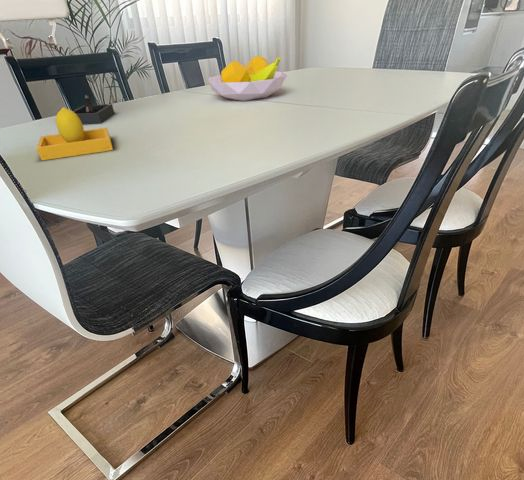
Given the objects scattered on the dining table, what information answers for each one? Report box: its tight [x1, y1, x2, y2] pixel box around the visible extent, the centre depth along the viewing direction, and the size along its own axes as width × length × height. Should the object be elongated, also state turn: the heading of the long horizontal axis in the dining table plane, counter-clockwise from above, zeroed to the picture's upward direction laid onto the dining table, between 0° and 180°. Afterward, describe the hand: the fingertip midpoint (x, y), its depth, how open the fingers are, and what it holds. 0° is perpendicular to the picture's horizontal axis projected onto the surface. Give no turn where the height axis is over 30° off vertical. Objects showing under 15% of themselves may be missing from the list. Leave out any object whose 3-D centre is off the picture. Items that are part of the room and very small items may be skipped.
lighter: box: [84, 94, 94, 113], centre depth 116 cm, size 8×2×5 cm
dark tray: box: [72, 103, 116, 125], centre depth 117 cm, size 14×10×3 cm
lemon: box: [55, 106, 85, 143], centre depth 89 cm, size 6×6×8 cm
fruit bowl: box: [208, 55, 288, 102], centre depth 128 cm, size 28×27×11 cm
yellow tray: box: [36, 127, 114, 161], centre depth 91 cm, size 16×12×3 cm
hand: (32, 47), depth 88 cm, fingers open, 8 cm apart
